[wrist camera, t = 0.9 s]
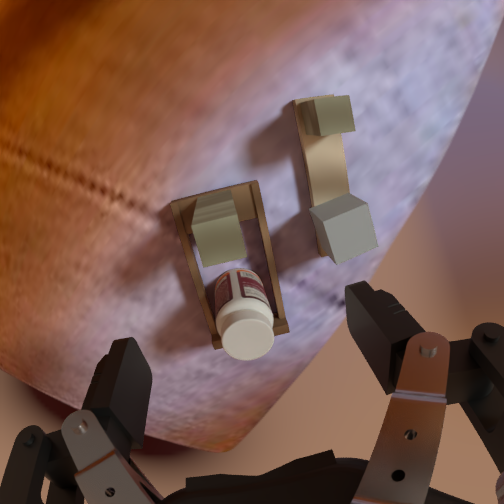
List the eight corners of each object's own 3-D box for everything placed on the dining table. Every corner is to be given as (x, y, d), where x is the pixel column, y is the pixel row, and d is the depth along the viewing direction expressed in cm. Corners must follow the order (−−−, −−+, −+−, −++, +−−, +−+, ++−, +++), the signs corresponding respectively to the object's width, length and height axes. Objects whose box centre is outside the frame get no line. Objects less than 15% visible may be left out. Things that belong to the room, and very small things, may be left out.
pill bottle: (223, 315, 32) (228, 371, 25) (207, 275, 31) (207, 325, 23) (268, 301, 32) (285, 354, 25) (255, 260, 31) (270, 306, 23)
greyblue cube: (308, 209, 28) (322, 221, 24) (348, 192, 28) (367, 203, 24) (321, 247, 30) (336, 265, 26) (359, 231, 30) (378, 246, 26)
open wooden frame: (171, 200, 27) (153, 233, 19) (256, 180, 27) (275, 203, 19) (214, 335, 33) (216, 398, 24) (284, 318, 33) (306, 377, 25)
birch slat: (292, 100, 25) (308, 95, 21) (329, 95, 25) (352, 90, 21) (318, 253, 31) (336, 275, 26) (351, 244, 31) (373, 265, 26)
